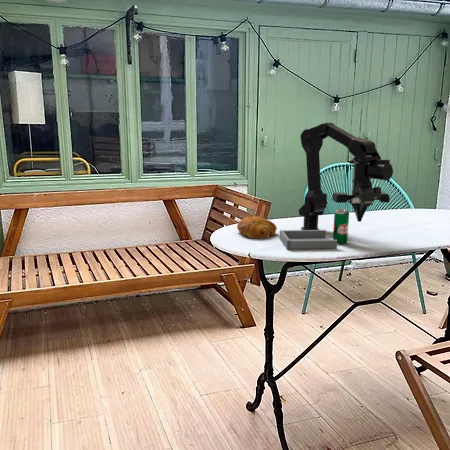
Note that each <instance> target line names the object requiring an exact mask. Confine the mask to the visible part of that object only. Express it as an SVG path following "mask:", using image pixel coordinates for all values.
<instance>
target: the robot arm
mask: <svg viewBox="0 0 450 450" xmlns="http://www.w3.org/2000/svg"><path fill="white" fill-rule="evenodd" d="M328 137H329V138H330V139H332V140H334V141H335V142H338V143H339V144H341V145H343V146H344V147H346V148H347V150H348V152H349V153H350V154H351V155H352V156H353V158H352V159H351V160H350V161H349V162H348V163H349V164H352V165H353V166H354V169H353V179H352V181H351V182H352V190H351V194H348V193H346V192H333V194H332V199H331V200H332V201H333V202H334V203H336V204H337V203H339V204H345V203H347V202H348V204H350V205H351V207H352V209H353V211H354V214H355V218H356V220H357V222H360V223H361V222H362V220H363V218H364V215H365V214H366V211H367V210H368V208H369V207H370V206H373V205H374V202H375V201H379V202H380V203H390V199H391V196H390V195H389V194H388V193H387V192H384V191H382V187H381V186H375V187H373V183H372V181H371V179H372V180H378V181H379V180H380V181H385V182H386V181H389V180H390V179H392V177H393V175H394V167H393V166H392V164H391V159H382V157H381V155H380V153H379V151H378V149H377V148H376V143H375V142H374V141H372V140H369V139H366V138H362V137H358V136H354V135H353V134H351V133H350V132H347V131H346V130H344V129H343V128H341V127H339V126H338V125H336V124H335V123H333V122H322V123H321V124H319V125H315V126H313V127H311V128H308V129H306V128H305V129H303V131H302V132H301V133H300V137H299V138H300V142H301V147H302V149H303V150H304V153H305V156H306V157H305V158H306V174H307V175H306V176H307V191H306V194H305V196H304V202H303V205H302V206H301V207H300V208H299V209H298V215H299V216H301V217H303V226H301V227H300V230H320V228H319V216H323V215H324V213H325V210H326V209H327V204H329V203H328V199H327V198H328V195H327V192H326V193H324V192H323V190H322V187H321V186H322V185H321V184H322V182H321V164H320V152H321V149H322V147H323V144H324V143H323V141H324V140H325V139H327V138H328Z"/></svg>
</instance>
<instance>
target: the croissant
mask: <svg viewBox="0 0 450 450" xmlns="http://www.w3.org/2000/svg"><path fill="white" fill-rule="evenodd" d="M236 228H237V230H238V232H240V233H241V234H242V235H244V236H246V237H248V238H250V239H251V238H252V239H264V238H268V236H269V237H274V236H275V234H276V231H277V229H278V227H277V225H276V224H275V223H274V222H273V221H271V220H269V219H267V218H263V217H260V216H258V215H257V216H256V215H253V216H246V217H245V218H242V219H240V221H239V222H238V223H237V227H236Z"/></svg>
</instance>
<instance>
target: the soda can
mask: <svg viewBox="0 0 450 450" xmlns="http://www.w3.org/2000/svg"><path fill="white" fill-rule="evenodd" d="M349 221H350V212H349V209H344V208H338V209H335V211H334V215H333V233H332V240H337V245H346V244H347V243H348V241H349V240H348V238H349V224H350V223H349Z"/></svg>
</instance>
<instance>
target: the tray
mask: <svg viewBox="0 0 450 450" xmlns="http://www.w3.org/2000/svg"><path fill="white" fill-rule="evenodd" d="M326 232H327V231H326V229H319V230H302V229H292V230H291V229H290V230H289V229H288V230H286V229H285V230H284V229H283V230H279V238H278V239H279V240H280V241H281V242H282V244H283V246H284V247H285V249H286V251H295V250H296V251H298V250H299V251H303V250H308V251H309V250H313V251H314V250H338V244H337V240H333V239H328V238H327V237H326V235H327V233H326Z"/></svg>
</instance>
